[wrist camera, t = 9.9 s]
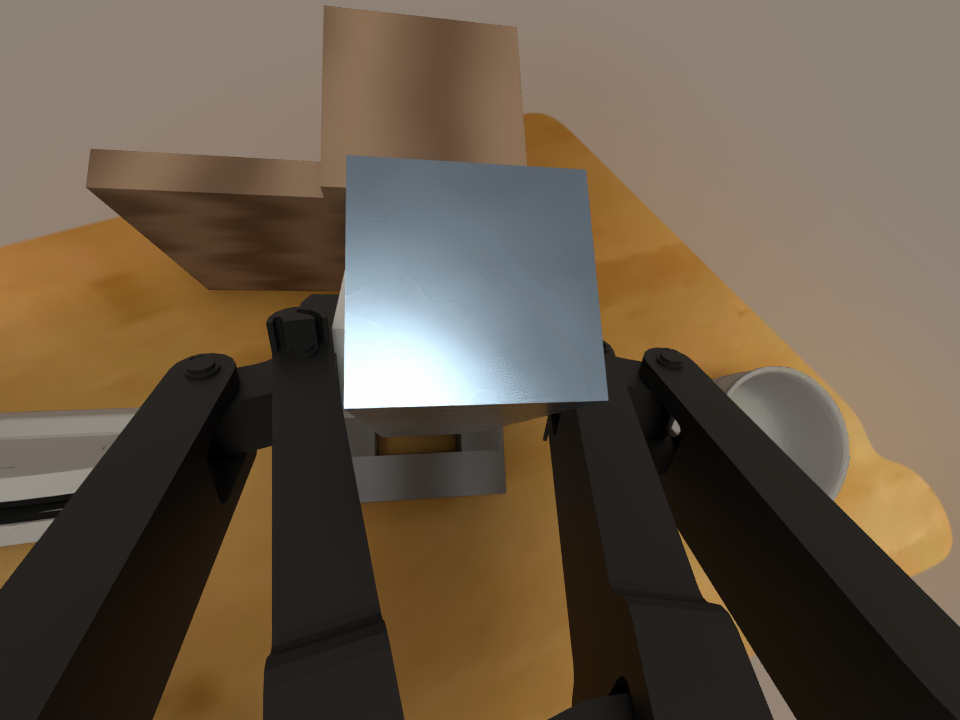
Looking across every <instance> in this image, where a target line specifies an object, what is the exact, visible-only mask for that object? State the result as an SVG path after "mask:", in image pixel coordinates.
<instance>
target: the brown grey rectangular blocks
mask: <svg viewBox="0 0 960 720" xmlns="http://www.w3.org/2000/svg"><path fill="white" fill-rule="evenodd" d="M522 105H523V104H522V91H521V77H520V63H519V51H518V36H517V27H510V26H502V25H493V24H484V23H474V22H467V21H457V20H449V19H440V18H431V17H422V16H413V15H403V14H394V13H386V12H377V11H368V10H360V9H350V8H342V7H333V6H324V26H323V75H322V125H321V129H322V130H321V162H314V161H295V160H279V159H261V158H242V157H226V156H208V155H207V156H206V155H190V154H173V153H172V154H171V153H155V152H137V151H119V150H118V151H117V150H101V149H91V151H90V159H89V167H88V175H87V183H86V188H88V189H89V190H90V191H91V192H92V193H94V194H95V195H96V196H97V197H98V198H100V199H101V200H102V201H103V202H104V203H105V204H107V205H108V206H109V207H110V208H111V209H113V210H114V211H115V212H116V213H117V214H119V215H120V216H121V217H122V218H123V219H125V220H126V221H127V222H128V223H129V224H131V225H132V226H133V227H134V228H135V229H137V230H138V231H139V232H140V233H141V234H142V235H144V236H145V237H146V238H147V239H148V240H150V241H151V242H152V243H153V244H154V245H156V246H157V247H158V248H159V249H160V250H162V251H163V252H164V253H165V254H166V255H168V256H169V257H170V258H171V259H172V260H174V261H175V262H176V263H177V264H178V265H180V266H181V267H182V268H183V269H184V270H186V271H187V272H188V273H189V274H190V275H192V276H193V277H194V278H195V279H196V280H198V281H199V282H200V283H201V284H202V285H204V286H205V287H206V288H207V289H208V290H292V291H340V290H341V285H342V281H343V277H344V272H345V244H346V155H356V156H372V157H388V158H404V159H420V160H436V161H453V162H469V163H485V164H501V165H517V166H527V159H526V145H525V132H524V118H523V106H522ZM344 419H345V424H346V430H347V435H348V440H349V446H350V451H351V456H352V462H353V467H354V472H355V478H356V483H357V488H358V494H359V499H360V503H365V502H380V501H395V500H410V499H426V498H441V497H456V496H471V495H486V494H502V493H506V482H505V464H504V446H503V428H502V427H498V428H493V429H489V430H485V431H481V432H477V433H473V434H456V452H440V453H420V454H400V455H379V456H377V433H376V432H375V431H373V430H372V429H371V428H369V427H368V426H367V425H365V424H364V423H363V422H361V421H360V420H359V419H357V418H344Z"/></svg>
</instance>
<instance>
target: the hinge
mask: <svg viewBox="0 0 960 720" xmlns="http://www.w3.org/2000/svg"><path fill="white" fill-rule="evenodd" d="M138 410H139V408H118V409H90V410H63V411H35V412H8V413H0V547H1V546H8V545H16V544H23V543H31V542H37V541H38V540H39V539H40V537H41V536H42V535H43V533H44V532H45V531H46V530H47V528H48V527H49V526H50V524H51V523H52V522H53V520H54V519H55V518H56V517H57V515H58V514H59V513H60V511H61V510H62V509H63V507H64V506H65V505H66V503H67V502H68V501H69V500H70V498H71V497H72V496H73V494H74V493H75V492H76V490H77V489H78V488H79V487H80V485H81V484H82V483H83V481H84V480H85V479H86V477H87V476H88V475H89V474H90V472H91V471H92V470H93V468H94V467H95V466H96V464H97V463H98V462H99V461H100V459H101V458H102V457H103V455H104V454H105V453H106V451H107V450H108V449H109V447H110V446H111V445H112V444H113V442H114V441H115V440H116V438H117V437H118V436H119V434H120V433H121V432H122V431H123V429H124V428H125V427H126V425H127V424H128V423H129V421H130V420H131V419H132V418H133V416H134V415H135V414H136V412H137V411H138Z"/></svg>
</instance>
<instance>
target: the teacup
mask: <svg viewBox="0 0 960 720" xmlns="http://www.w3.org/2000/svg"><path fill="white" fill-rule="evenodd" d="M712 380H713V381H714V382H715V383H716V384H717V385H718V386H719V387H720V388H721V389H722V390H723V391H724V392H725V393H726V394H727V395H728V396H729V397H730V398H731V399H732V400H733V401H734V402H735V403H736V404H737V405H738V406H739V407H740V408H741V409H742V410H743V411H744V412H745V413H746V414H747V415H748V416H749V417H750V418H751V419H752V420H753V421H754V422H755V423H756V424H757V425H758V426H759V427H760V428H761V429H762V430H763V431H764V432H765V433H766V434H767V435H768V436H769V437H770V438H771V439H772V440H773V441H774V442H775V443H776V444H777V445H778V446H779V447H780V448H781V449H782V450H783V451H784V452H785V453H786V454H787V455H788V456H789V457H790V458H791V459H792V460H793V461H794V462H795V463H796V464H797V465H798V466H799V467H800V468H801V469H802V470H803V471H804V472H805V473H806V474H807V475H808V476H809V477H810V478H811V479H812V480H813V481H814V482H815V483H816V484H817V485H818V486H819V487H820V488H821V489H822V490H823V491H824V492H825V493H826V494H827V495H828V496H829V497H830V498H831V499H832V500H833V501H834V499H835V498H836V496H837V495H838V493H839V492H840V489H841V487H842V485H843V482H844V480H845V477H846V473H847V469H848V465H849V460H850V456H849V438H848V433H847V430H846V425H845V421H844V419H843V417H842V415H841V412H840V410H839V408H838V406H837V405H836V403H835V402H834V400H833V399H832V397H831V396H830V395H829V394H828V392H827V391H826V390H825V389H824V388H823V387H822V386H821V385H820V384H819V383H818V382H816V381H815V380H814V379H812V378H811V377H810V376H808V375H806V374H804V373H802V372H800V371H797V370H795V369H792V368H789V367H782V366H777V367H776V366H769V367H762V368H758V369H755V370H753V371H748V372H742V373H736V374H731V375H727V376H722V377H719V378H715V379H712ZM672 429H673V430H674V432H675V433H676V434H677V435H678V434H679V433H680V427H679V425H678V423H677V421H676V420H675V421H674V423H673V426H672Z"/></svg>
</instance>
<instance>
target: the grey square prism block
mask: <svg viewBox="0 0 960 720" xmlns="http://www.w3.org/2000/svg"><path fill="white" fill-rule="evenodd" d="M605 401H608V391H607V380H606V370H605V360H604V350H603V339H602V329H601V319H600V309H599V299H598V288H597V278H596V268H595V258H594V247H593V237H592V227H591V217H590V207H589V196H588V186H587V176H586V170H581V169H565V168H549V167H533V166H517V165H501V164H485V163H469V162H453V161H436V160H420V159H404V158H388V157H372V156H356V155H346V244H345V345H344V409H345V410H346V411H348V412H349V413H350V414H352V415H353V416H354V417H356V418H357V419H359V420H360V421H361V422H363V423H364V424H365V425H367V426H368V427H369V428H371V429H372V430H373V431H375V432H376V433H377V434H379V435H380V436H381V437H399V436H424V435H448V434H473V433H477V432H481V431H485V430H489V429H493V428H498V427H502V426H506V425H510V424H514V423H518V422H522V421H527V420H531V419H535V418H539V417H543V416H547V415H551V414H555V413H560V412H564V411H568V410H572V409H576V408H580V407H584V406H589V405H593V404H597V403H601V402H605Z"/></svg>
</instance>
